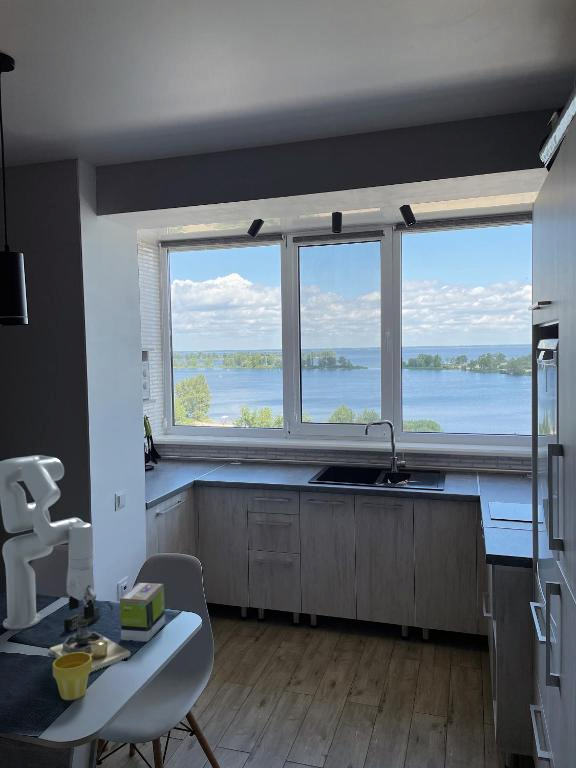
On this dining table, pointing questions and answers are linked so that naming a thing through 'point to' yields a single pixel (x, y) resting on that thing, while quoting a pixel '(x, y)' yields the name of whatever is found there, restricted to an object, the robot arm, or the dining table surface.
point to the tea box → (142, 611)
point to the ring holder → (79, 649)
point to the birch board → (113, 656)
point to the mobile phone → (72, 621)
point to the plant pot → (72, 674)
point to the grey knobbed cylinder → (82, 632)
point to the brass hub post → (99, 649)
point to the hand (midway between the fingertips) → (81, 613)
